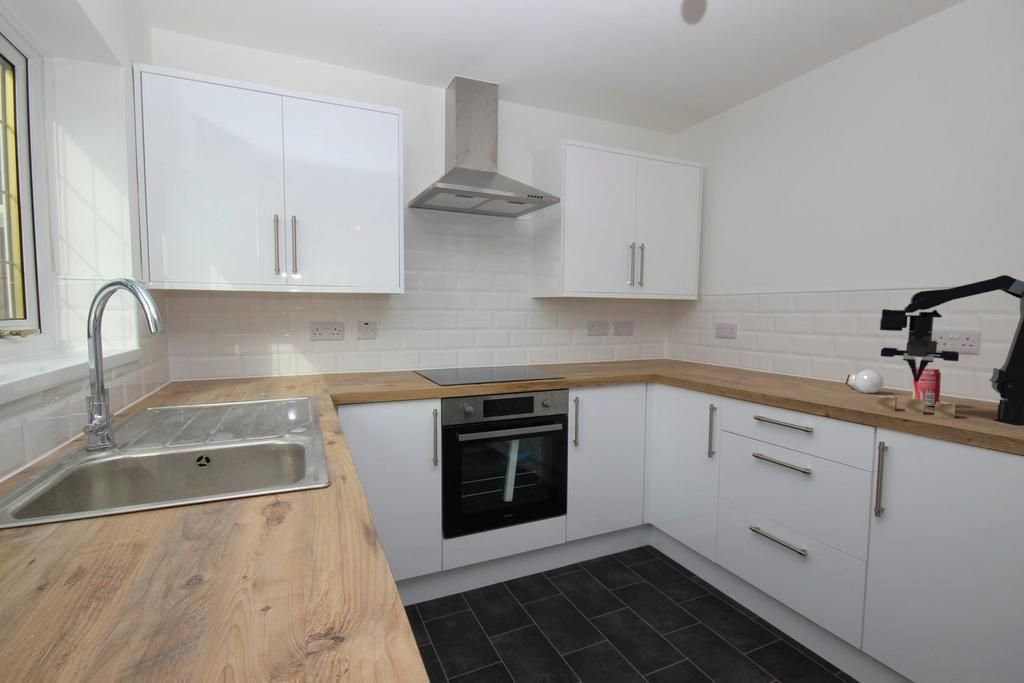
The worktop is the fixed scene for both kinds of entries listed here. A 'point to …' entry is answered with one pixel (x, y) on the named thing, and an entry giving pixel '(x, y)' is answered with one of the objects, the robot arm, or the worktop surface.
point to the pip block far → (887, 402)
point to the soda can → (928, 386)
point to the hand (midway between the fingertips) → (916, 381)
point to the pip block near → (945, 409)
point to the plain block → (915, 405)
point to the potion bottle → (866, 381)
